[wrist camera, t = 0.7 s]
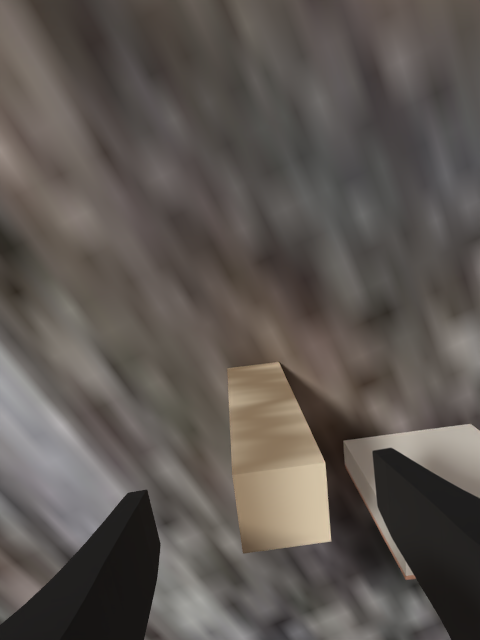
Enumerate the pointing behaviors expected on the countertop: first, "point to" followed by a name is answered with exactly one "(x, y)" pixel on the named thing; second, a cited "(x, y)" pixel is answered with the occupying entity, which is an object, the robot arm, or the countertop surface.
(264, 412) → the stick
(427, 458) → the tile
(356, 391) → the countertop surface
